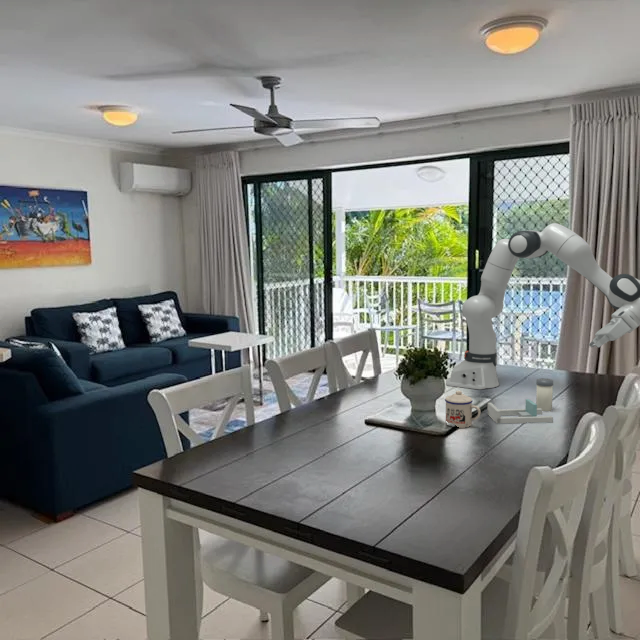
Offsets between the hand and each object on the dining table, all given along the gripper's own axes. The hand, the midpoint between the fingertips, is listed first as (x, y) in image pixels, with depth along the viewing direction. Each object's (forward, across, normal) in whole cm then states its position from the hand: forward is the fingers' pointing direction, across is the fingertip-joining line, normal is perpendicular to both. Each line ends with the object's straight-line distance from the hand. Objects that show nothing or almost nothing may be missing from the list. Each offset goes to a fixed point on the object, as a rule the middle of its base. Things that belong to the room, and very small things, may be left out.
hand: (593, 346), depth 217 cm
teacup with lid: (+53, +20, -9) cm, 57 cm away
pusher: (+35, +9, +3) cm, 36 cm away
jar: (+28, -3, +7) cm, 29 cm away
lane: (+36, +10, +2) cm, 38 cm away
